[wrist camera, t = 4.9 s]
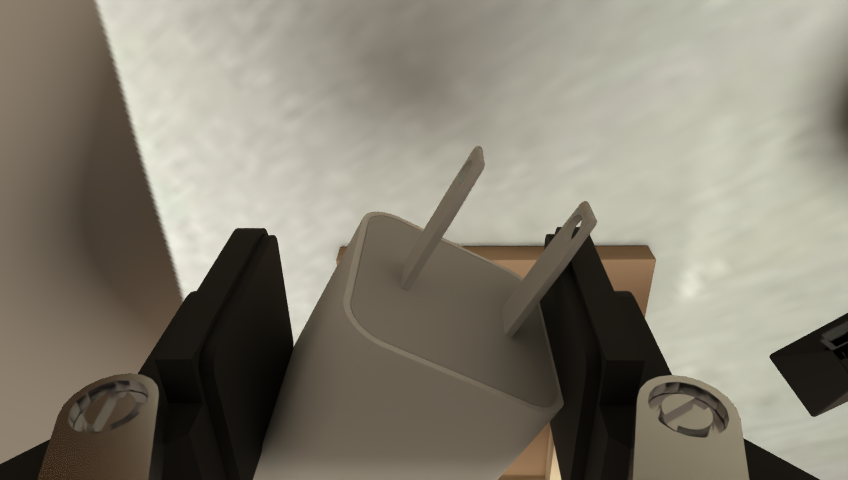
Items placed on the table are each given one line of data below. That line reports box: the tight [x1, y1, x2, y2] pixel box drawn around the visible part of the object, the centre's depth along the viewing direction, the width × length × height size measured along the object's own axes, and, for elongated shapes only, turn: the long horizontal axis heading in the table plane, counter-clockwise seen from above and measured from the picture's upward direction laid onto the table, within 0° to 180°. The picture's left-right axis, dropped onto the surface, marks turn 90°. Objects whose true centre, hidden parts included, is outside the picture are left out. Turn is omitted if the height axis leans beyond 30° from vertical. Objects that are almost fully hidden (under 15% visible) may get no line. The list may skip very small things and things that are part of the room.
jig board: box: [336, 246, 656, 480], centre depth 31 cm, size 18×14×2 cm
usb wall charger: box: [253, 146, 597, 480], centre depth 11 cm, size 4×7×4 cm, turn 152°
